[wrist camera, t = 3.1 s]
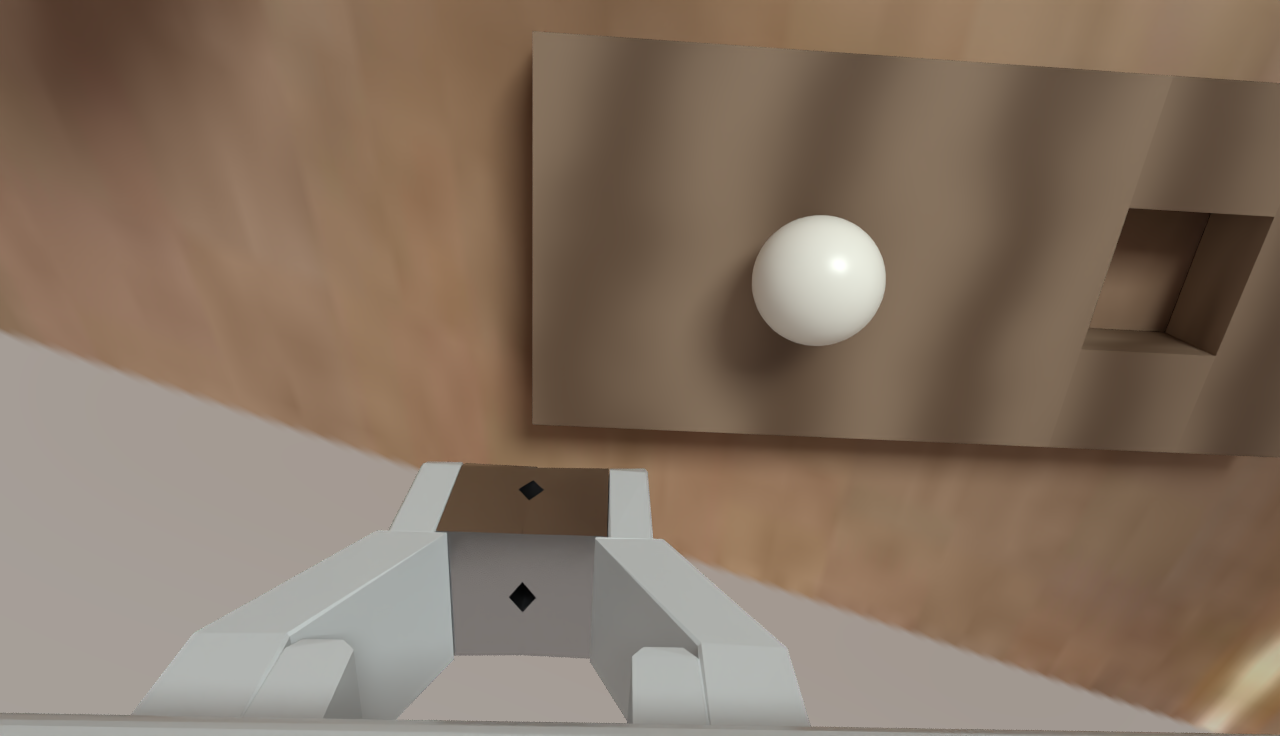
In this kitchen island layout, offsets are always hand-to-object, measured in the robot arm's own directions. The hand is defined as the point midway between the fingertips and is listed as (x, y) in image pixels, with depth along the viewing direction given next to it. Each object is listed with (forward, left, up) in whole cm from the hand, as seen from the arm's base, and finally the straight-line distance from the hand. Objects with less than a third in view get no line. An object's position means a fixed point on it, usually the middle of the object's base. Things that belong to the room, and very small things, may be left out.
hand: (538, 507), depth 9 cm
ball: (-7, 0, -12) cm, 14 cm away
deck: (-13, 0, -17) cm, 21 cm away
